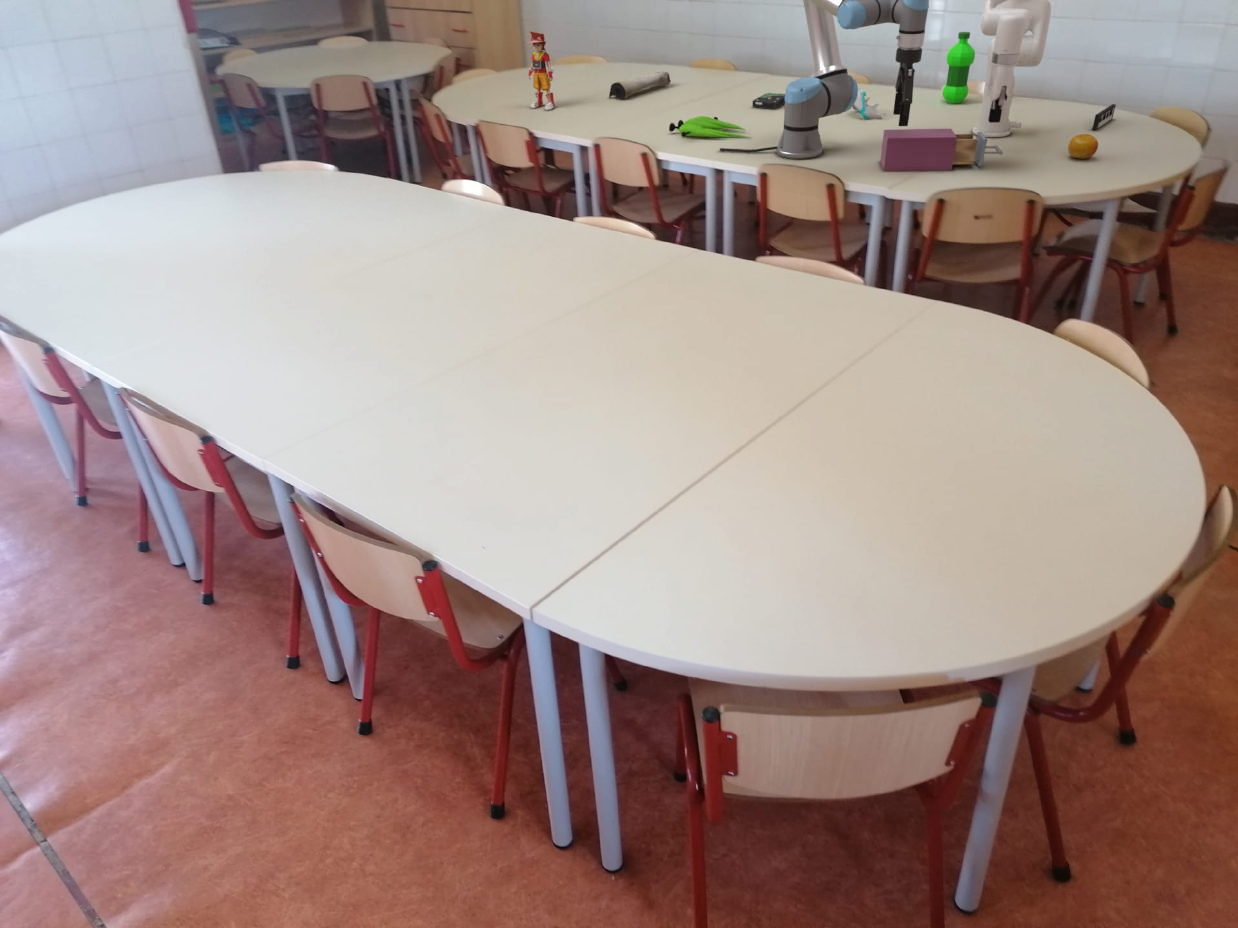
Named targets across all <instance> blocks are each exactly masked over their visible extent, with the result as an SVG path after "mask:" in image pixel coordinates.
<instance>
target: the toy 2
mask: <svg viewBox="0 0 1238 928" xmlns="http://www.w3.org/2000/svg"><path fill="white" fill-rule="evenodd" d="M676 129H677V130H678V131H679V133H680V134H681V137H682V138H686V137H707V138H732V137H733V138H748V136H746V135H743V134H738V133H732V132H727V131H724V130H726V129H727V130H728V129H731V130H741V131H747V129H746V128H743V127H742V126H739V125H736V124H733V123H730V122H726V121H722V120H719V118H718V117H717V116H714V117H713V118H711V117H709V116H705V115H704V116H703V115H701V116H696V117H694V118H690V119H687V120H685V121H683V120H682V119H679V120H678V122H677V125H676V124H675V123H674V122H670V124H669V127H668V131H669V132H671V133H672V132H674V131H675V130H676Z"/></svg>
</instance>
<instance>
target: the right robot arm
mask: <svg viewBox="0 0 1238 928" xmlns="http://www.w3.org/2000/svg"><path fill="white" fill-rule="evenodd" d="M997 6H999V7H998V8H996V7H997ZM1051 14H1052V6H1051V2H1050V1H1049V0H985V3H984V6H983V11H982V17H981V22H980V30H981V33H982V34H983V35H984V36H989V37H993V39H992V40H990V42H989V45H988V48H987V64H986V65H987V67H986V76H985V81H984V88H983V96H982V100H981V106H980V110H979V111H980V112H979V117H978V123H977V126H974V127H973V128H972V134H974V135H976V136H977V133H978V132H982V133H983V134H984V136H985V137H986V138H1002V137H1007V136H1009V135H1010V134H1011V130H1012V129H1021V128H1022V123H1023V122H1022V121H1021V122H1020V121H1019V122H1017V121H1015V120H1013V121H1010V119H1009V117H1010V110H1011V106H1012V100H1013V95H1014V91H1015V90H1014V89H1015V85H1016V84H1015V83H1016V77H1015V75H1014V72H1015V71H1014V70H1015V67H1020V68H1022V67H1025V68H1027V67H1029V68H1032V67H1037V66H1038V65H1040V63H1041V62H1042V60H1043V57H1044V54H1045V48H1046V43H1047V38H1048V32H1049V27H1050V22H1051V16H1052V15H1051ZM1028 32H1031V33H1032V35H1027V33H1028Z"/></svg>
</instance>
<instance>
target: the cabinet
mask: <svg viewBox="0 0 1238 928" xmlns="http://www.w3.org/2000/svg"><path fill="white" fill-rule="evenodd" d="M955 134H956V133H955V132H954V131H953V128H910V129H909V128H908V129H907V128H906V129H904V128H903V129H900V128H899V129H883V136H882V143H881V151H880V152H881V154H880V159H879V160H880V164H881V167H882V170H883V172H904V171H905V172H907V171H909V172H913V171H914V172H915V171H918V172H919V171H920V172H921V171H952V170H953V165H954V164H953V159H954V152H955V146H956V140H957V137H956V135H955Z"/></svg>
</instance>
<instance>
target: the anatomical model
mask: <svg viewBox="0 0 1238 928" xmlns="http://www.w3.org/2000/svg"><path fill="white" fill-rule="evenodd" d="M866 96H867V93H866V91H864V90H863V89H862V88H858V95H857V99H856V101H855V103H854V105H853V107H852V109H853V110H854V111H858V112H859V113H860V116H861V118H862V119H864V120H868V119H870V118H881V117H882V116H884V115H883V113H882V112H877V111H876V109H877V108H878V106H880V103H878V102H876V103H873V104H871V105H869V104H868V102H869V100H870V98H871V97H870V96H868V97H866Z"/></svg>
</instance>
